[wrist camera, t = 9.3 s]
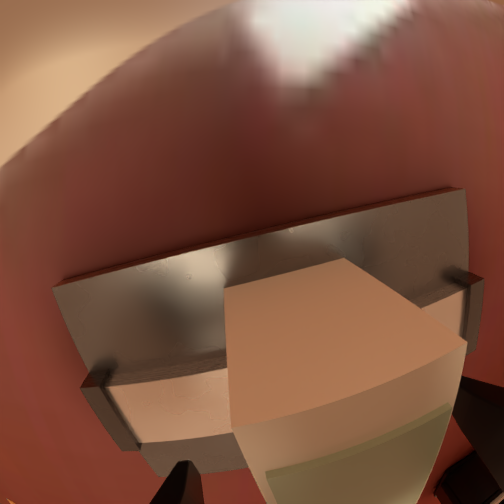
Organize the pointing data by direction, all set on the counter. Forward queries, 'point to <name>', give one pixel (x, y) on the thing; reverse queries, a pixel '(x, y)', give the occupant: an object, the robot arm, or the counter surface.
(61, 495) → the counter surface
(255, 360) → the din module
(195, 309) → the din rail
